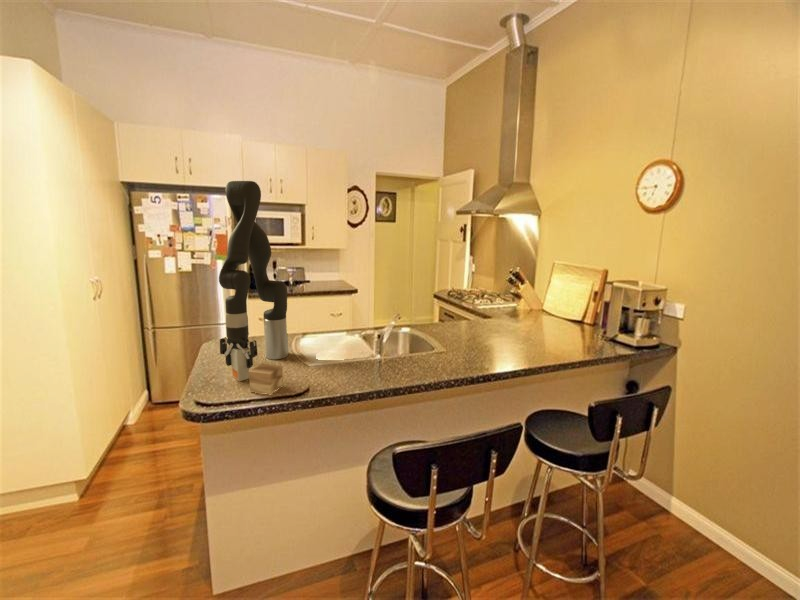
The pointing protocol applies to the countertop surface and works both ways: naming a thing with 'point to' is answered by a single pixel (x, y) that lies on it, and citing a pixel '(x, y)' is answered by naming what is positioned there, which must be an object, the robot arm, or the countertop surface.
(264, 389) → the block lower
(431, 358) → the countertop surface
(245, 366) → the skincare box
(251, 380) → the tan square block
